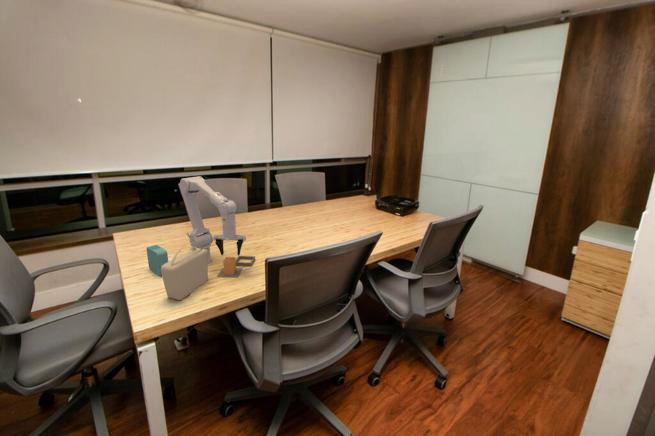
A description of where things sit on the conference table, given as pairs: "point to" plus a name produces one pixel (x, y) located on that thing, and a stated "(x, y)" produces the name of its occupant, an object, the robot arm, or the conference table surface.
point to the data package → (156, 258)
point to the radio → (185, 272)
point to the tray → (245, 259)
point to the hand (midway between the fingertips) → (230, 254)
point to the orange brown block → (229, 265)
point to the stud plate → (236, 275)
